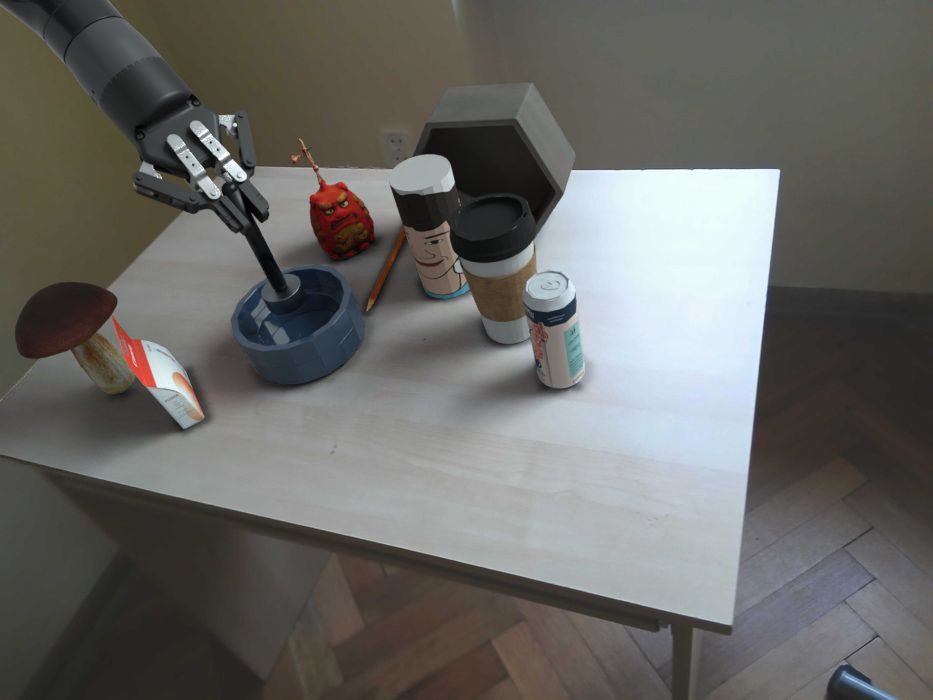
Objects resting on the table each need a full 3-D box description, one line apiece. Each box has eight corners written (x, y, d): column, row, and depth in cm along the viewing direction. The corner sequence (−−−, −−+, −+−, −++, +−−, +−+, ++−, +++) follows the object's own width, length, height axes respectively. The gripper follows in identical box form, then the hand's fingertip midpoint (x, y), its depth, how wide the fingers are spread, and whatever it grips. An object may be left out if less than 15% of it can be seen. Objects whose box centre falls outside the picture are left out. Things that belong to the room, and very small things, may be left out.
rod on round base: (270, 320, 76) (204, 202, 65) (266, 296, 79) (203, 179, 68) (309, 306, 76) (250, 186, 65) (303, 282, 79) (246, 164, 68)
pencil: (413, 220, 95) (412, 216, 95) (370, 313, 84) (368, 309, 83) (408, 220, 95) (406, 216, 95) (364, 313, 84) (362, 309, 83)
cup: (414, 277, 87) (378, 172, 76) (462, 253, 88) (434, 147, 77) (437, 306, 82) (402, 199, 71) (487, 281, 83) (461, 172, 73)
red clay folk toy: (336, 270, 91) (292, 170, 80) (314, 246, 95) (270, 148, 85) (386, 242, 93) (350, 140, 82) (362, 220, 97) (325, 121, 87)
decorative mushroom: (123, 349, 89) (45, 255, 79) (187, 359, 84) (113, 261, 74) (61, 416, 82) (-32, 324, 72) (127, 431, 78) (37, 335, 67)
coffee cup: (538, 357, 73) (516, 244, 63) (463, 347, 77) (431, 237, 66) (560, 302, 78) (544, 188, 68) (489, 294, 82) (463, 184, 71)
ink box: (186, 370, 83) (135, 299, 75) (206, 419, 77) (152, 347, 69) (163, 382, 83) (109, 312, 74) (181, 433, 76) (124, 362, 68)
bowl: (259, 404, 77) (235, 367, 73) (249, 326, 86) (227, 290, 82) (377, 360, 78) (360, 321, 74) (354, 288, 87) (338, 250, 83)
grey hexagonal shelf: (388, 217, 88) (442, 80, 72) (408, 181, 93) (463, 45, 77) (509, 277, 90) (588, 157, 74) (523, 239, 95) (599, 118, 79)
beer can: (539, 356, 73) (523, 268, 65) (586, 354, 72) (575, 265, 64) (536, 392, 70) (518, 304, 62) (585, 391, 69) (573, 301, 61)
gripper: (60, 96, 61) (200, 252, 62) (192, 26, 66) (317, 170, 68) (72, 138, 67) (198, 277, 69) (190, 72, 73) (304, 201, 75)
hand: (256, 224), depth 68 cm, fingers closed on rod on round base
